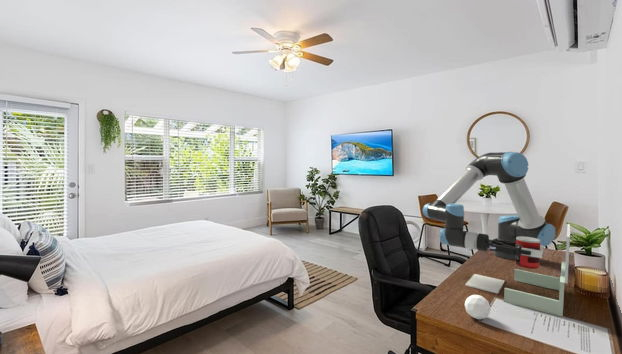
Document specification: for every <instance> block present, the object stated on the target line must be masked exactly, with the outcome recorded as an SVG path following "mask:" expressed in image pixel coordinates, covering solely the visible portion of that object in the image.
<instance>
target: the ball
mask: <svg viewBox="0 0 622 354" xmlns="http://www.w3.org/2000/svg"><path fill="white" fill-rule="evenodd" d="M464 308H465V312H466V313H467V314H468V315H469V316H471V318H473V319H476V320H483V319H486V318H487V317H489V315H490V314H491V309H492V308H491V306H490V303H489V300H488V299H486V298H485V297H484V296H482V295H480V294H472V295H470V296H468V297H467V298H465V302H464Z"/></svg>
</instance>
